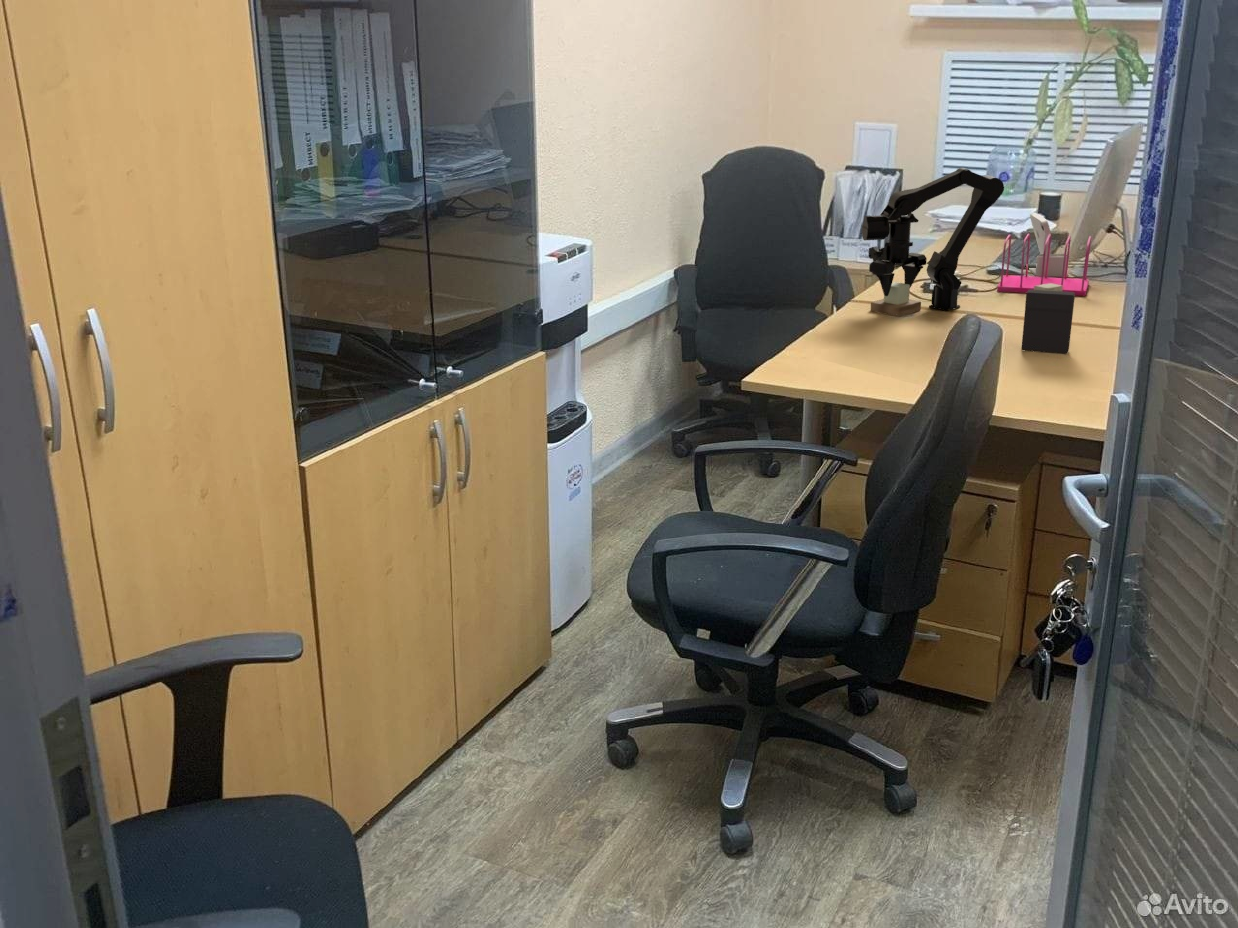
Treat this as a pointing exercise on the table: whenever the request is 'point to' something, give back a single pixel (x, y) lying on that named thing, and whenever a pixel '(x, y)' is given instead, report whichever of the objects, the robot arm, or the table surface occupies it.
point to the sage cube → (898, 293)
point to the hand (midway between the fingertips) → (896, 293)
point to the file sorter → (1028, 282)
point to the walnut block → (895, 307)
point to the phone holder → (1055, 260)
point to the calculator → (1048, 321)
